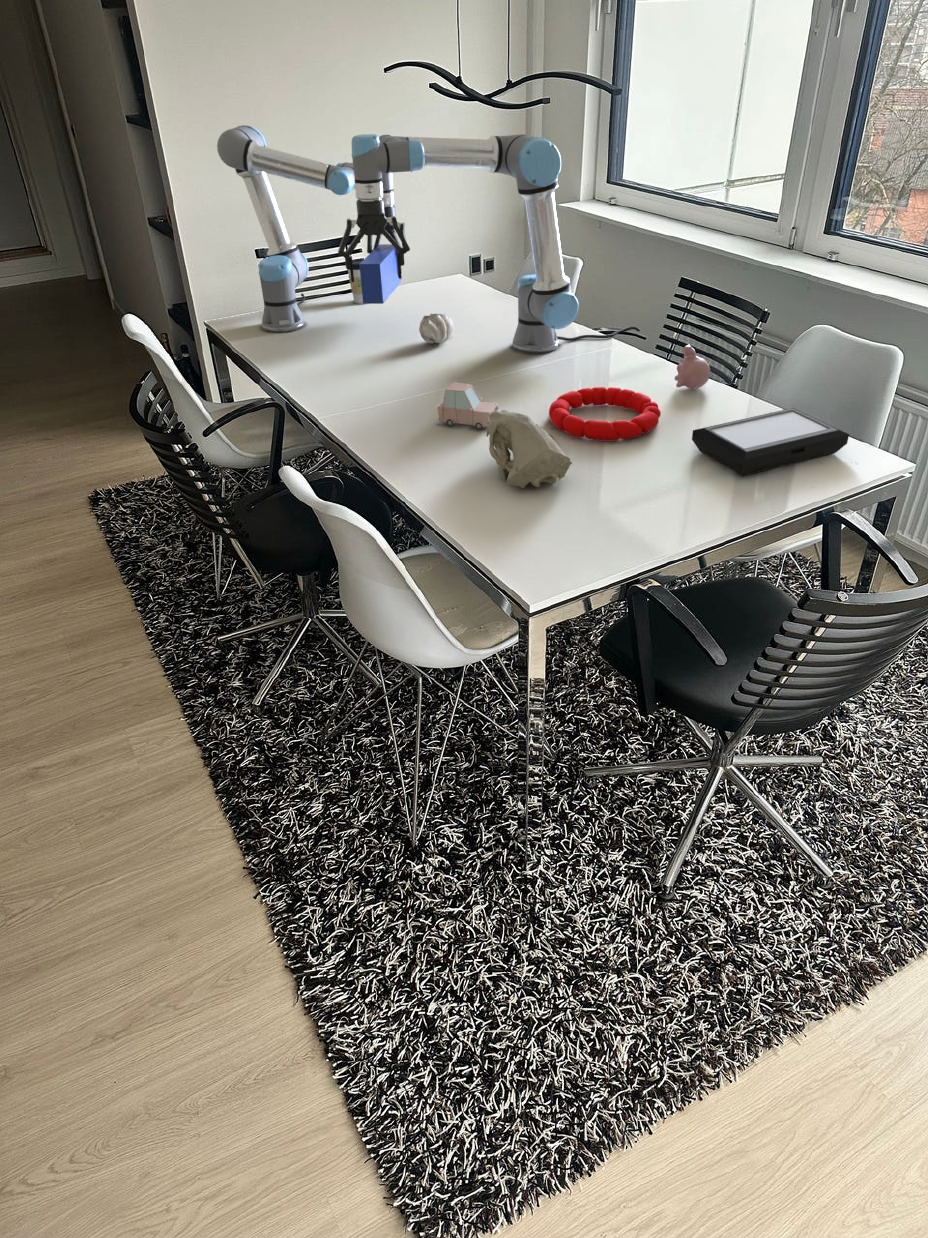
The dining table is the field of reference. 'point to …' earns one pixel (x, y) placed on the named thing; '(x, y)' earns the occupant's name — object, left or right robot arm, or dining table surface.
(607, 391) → the decorative ring
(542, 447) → the animal skull
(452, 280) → the dining table surface
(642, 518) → the dining table surface
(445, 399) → the toy car
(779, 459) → the electronic device
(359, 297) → the coffee cup
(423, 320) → the seashell
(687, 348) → the figurine
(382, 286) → the box
